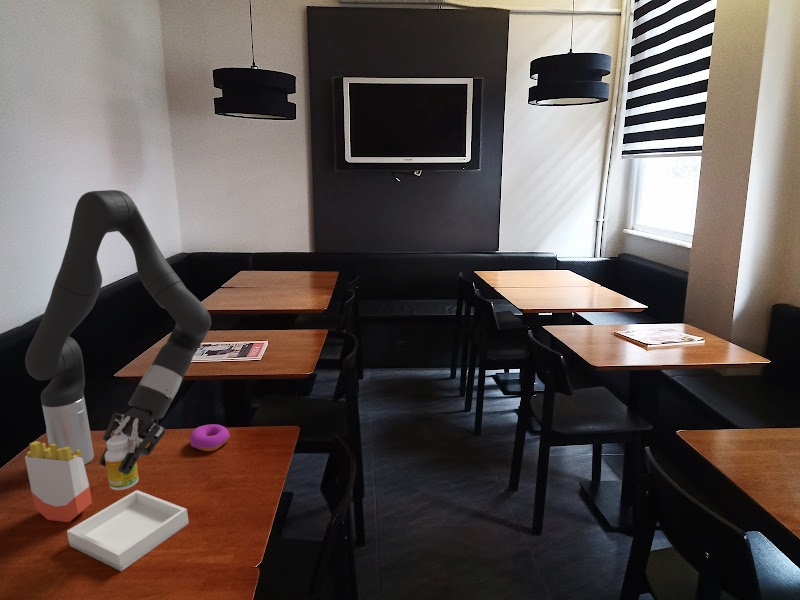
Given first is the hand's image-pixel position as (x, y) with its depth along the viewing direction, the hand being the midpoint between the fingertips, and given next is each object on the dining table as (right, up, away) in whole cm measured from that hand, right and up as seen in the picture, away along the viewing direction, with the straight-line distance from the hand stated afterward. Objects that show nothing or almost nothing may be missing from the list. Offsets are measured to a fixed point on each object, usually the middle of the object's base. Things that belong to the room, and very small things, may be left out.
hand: (113, 468), depth 110 cm
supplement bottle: (+1, -4, +3) cm, 5 cm away
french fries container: (-17, -14, +12) cm, 25 cm away
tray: (+1, -15, +5) cm, 16 cm away
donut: (+5, -6, +42) cm, 43 cm away
